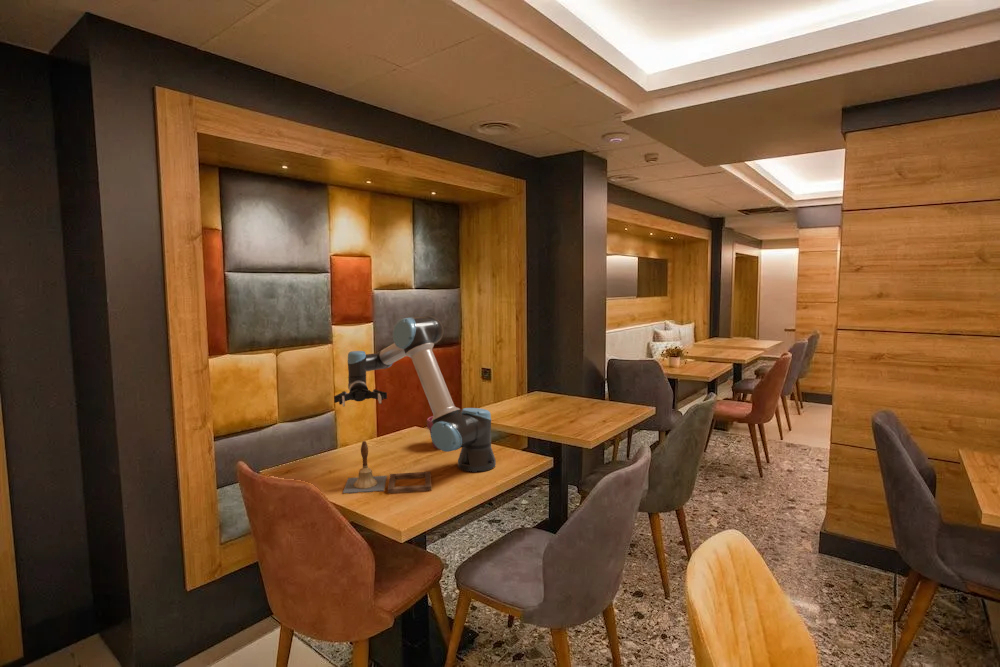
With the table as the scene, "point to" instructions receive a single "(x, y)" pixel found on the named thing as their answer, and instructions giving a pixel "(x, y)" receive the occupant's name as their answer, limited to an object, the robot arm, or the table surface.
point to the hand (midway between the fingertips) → (362, 401)
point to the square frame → (408, 476)
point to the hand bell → (365, 471)
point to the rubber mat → (379, 487)
